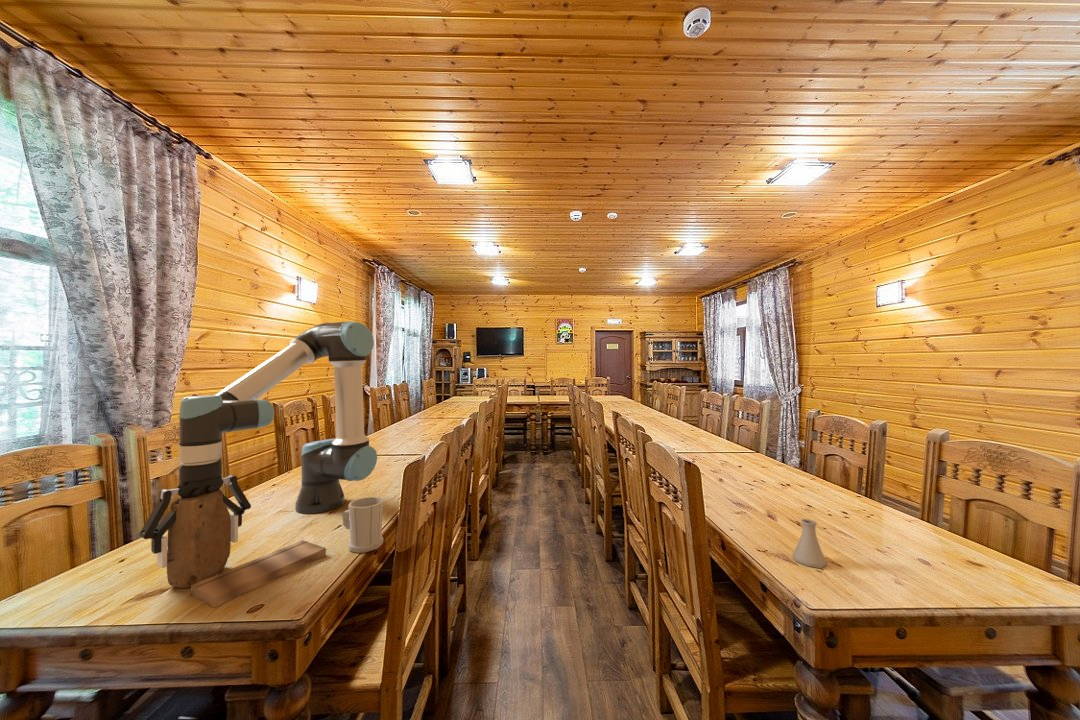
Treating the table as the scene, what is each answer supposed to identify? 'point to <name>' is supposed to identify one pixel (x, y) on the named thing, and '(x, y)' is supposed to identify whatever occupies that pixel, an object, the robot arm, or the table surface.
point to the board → (256, 573)
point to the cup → (364, 524)
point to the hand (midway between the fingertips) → (199, 552)
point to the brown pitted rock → (198, 539)
